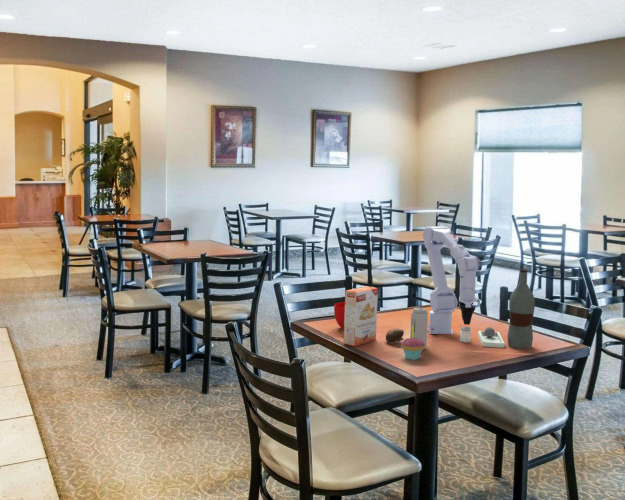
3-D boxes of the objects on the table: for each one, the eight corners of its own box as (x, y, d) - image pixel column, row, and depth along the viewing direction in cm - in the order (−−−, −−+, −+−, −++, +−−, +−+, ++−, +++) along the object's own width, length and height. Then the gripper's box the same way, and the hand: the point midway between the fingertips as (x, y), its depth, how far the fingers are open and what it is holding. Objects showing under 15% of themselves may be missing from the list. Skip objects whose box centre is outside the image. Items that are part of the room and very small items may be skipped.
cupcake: (398, 354, 234) (399, 321, 233) (421, 354, 235) (422, 321, 234) (403, 361, 226) (404, 327, 224) (427, 361, 227) (428, 327, 225)
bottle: (537, 348, 245) (542, 270, 241) (521, 352, 240) (525, 271, 236) (517, 343, 252) (522, 266, 249) (501, 346, 248) (505, 268, 244)
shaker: (460, 343, 250) (460, 328, 250) (459, 341, 254) (460, 326, 254) (470, 344, 250) (471, 329, 249) (469, 341, 254) (470, 326, 253)
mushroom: (410, 333, 252) (401, 321, 250) (406, 345, 245) (397, 333, 244) (393, 340, 256) (384, 328, 255) (389, 352, 250) (380, 340, 248)
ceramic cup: (378, 328, 273) (378, 304, 271) (347, 334, 262) (347, 309, 261) (357, 322, 283) (358, 299, 282) (327, 327, 273) (327, 304, 271)
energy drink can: (407, 346, 245) (408, 307, 243) (420, 345, 247) (422, 306, 245) (415, 351, 239) (417, 311, 237) (429, 349, 241) (431, 310, 240)
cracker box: (355, 347, 243) (357, 292, 240) (342, 344, 247) (344, 290, 244) (377, 340, 254) (378, 287, 251) (364, 337, 257) (366, 285, 255)
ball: (484, 338, 257) (485, 328, 256) (483, 335, 261) (484, 325, 260) (495, 338, 256) (495, 328, 256) (493, 336, 260) (494, 326, 259)
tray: (482, 347, 245) (482, 342, 245) (478, 335, 262) (478, 330, 262) (504, 349, 244) (504, 343, 243) (498, 337, 261) (498, 331, 261)
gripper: (480, 291, 242) (478, 327, 243) (476, 284, 256) (474, 318, 258) (460, 290, 243) (459, 326, 244) (458, 284, 257) (456, 317, 259)
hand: (466, 322), depth 251 cm, fingers open, 7 cm apart
